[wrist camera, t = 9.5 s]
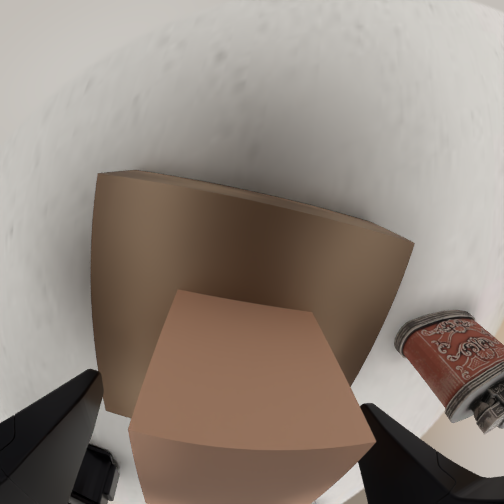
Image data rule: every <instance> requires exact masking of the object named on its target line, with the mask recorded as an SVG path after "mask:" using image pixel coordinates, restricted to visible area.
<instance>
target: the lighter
mask: <svg viewBox="0 0 504 504" xmlns="http://www.w3.org/2000/svg"><path fill="white" fill-rule="evenodd" d="M395 348H396V349H397V351H398V352H399V353H400V354H401V356H402V357H404V358H407V359H408V360H409V361H410V363H411V364H412V365H413V366H414V368H415V369H416V370H417V371H418V373H419V374H420V375H421V377H422V378H423V379H424V380H425V382H426V383H427V384H428V386H429V387H430V388H431V390H432V391H433V392H434V393H435V395H436V396H437V397H438V399H439V400H440V402H441V403H442V404H443V406H444V407H445V408H446V409H445V414H446V415H447V417H448V418H449V420H450V421H451V422H452V423H455V422H458V421H460V420H463V419H466V418H468V417H470V416H472V415H474V417H475V420H476V421H477V425H478V426H479V428H480V429H481V430H482V432H483V433H484V434H487V433H488V432H490V431H491V430H493V429H494V428H495V427H499V428H504V345H503V344H502V343H500V342H499V341H498V340H497V339H496V338H495V337H493V336H492V335H491V334H490V333H489V332H488V331H486V330H485V329H484V328H483V327H481V326H480V325H479V324H478V323H477V322H475V318H474V317H473V316H472V315H470V314H469V313H468V312H466V311H459V310H450V311H441V312H437V313H432V314H428V315H425V316H422V317H420V318H417V319H414V320H411V321H409V322H407V323H406V324H405V325H404V326H403V327H402V328H401V329H400V331H399V332H398V334H397V336H396V338H395Z"/></svg>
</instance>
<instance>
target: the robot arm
mask: <svg viewBox="0 0 504 504" xmlns="http://www.w3.org/2000/svg"><path fill="white" fill-rule="evenodd" d="M103 393H104V387H103V381H102V375H101V373H100V372H99V371H96V370H93V369H87V370H86V371H84V372H83V373H81V374H79V375H78V376H76V377H75V378H73V379H71V380H70V381H68V382H67V383H65V384H63V385H62V386H60V387H59V388H57V389H55V390H54V391H52V392H51V393H49V394H47V395H46V396H44V397H42V398H41V399H39V400H38V401H36V402H34V403H33V404H31V405H29V406H28V407H26V408H25V409H23V410H21V411H20V412H18V413H16V414H15V416H14V415H13V416H11V417H10V418H8V419H6V420H5V421H3V422H1V423H0V504H71V503H72V504H107V503H108V500H109V501H113V500H114V496H115V491H116V487H117V483H118V479H119V472H118V469H117V467H116V465H115V464H114V461H113V458H112V455H111V454H110V453H109V452H107V451H104V450H101V449H98V448H95V447H92V446H90V445H88V444H89V441H90V439H91V436H92V433H93V430H94V427H95V423H96V419H97V415H98V412H99V408H100V404H101V401H102V397H103ZM360 408H361V410H362V412H363V414H364V417H365V419H366V421H367V423H368V425H369V427H370V429H371V431H372V433H373V435H374V438H375V440H376V443H375V444H374V445H373V446H372V447H371V448H370V449H369V450H368V452H367V453H366V454H365V455H364V456H363V457H362V458H361V459H360V460H359V461H358V463H359V467H360V471H361V476H362V480H363V484H364V488H365V492H366V497H367V501H368V504H504V476H501V477H493V478H486V477H481V476H479V475H476V474H475V473H473V472H471V471H468V470H467V469H465V468H463V467H461V466H459V465H458V464H456V463H454V462H453V461H451V460H449V459H448V458H446V457H445V456H443V455H442V454H441V453H439V452H437V451H436V450H435V449H433V448H432V447H430V446H429V445H428V444H426V443H425V442H424V441H422V440H421V439H420V438H418V437H417V436H415V435H414V434H413V433H411V432H410V431H409V430H407V429H406V428H405V427H403V426H402V425H401V424H399V423H398V422H397V421H395V420H394V419H393V418H391V417H390V416H389V415H387V414H386V413H385V412H384V411H382V410H381V409H380V408H378V407H377V406H376V405H374V404H373V403H365V404H362V405H361V406H360ZM69 502H70V503H69Z"/></svg>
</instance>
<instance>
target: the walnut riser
mask: <svg viewBox="0 0 504 504" xmlns="http://www.w3.org/2000/svg"><path fill="white" fill-rule="evenodd" d="M414 244H415V243H413V242H411V241H409V240H408V239H406V238H404V237H401V236H399V235H397V234H395V233H393V232H391V231H389V230H387V229H385V228H383V227H381V226H379V225H377V224H374V223H372V222H370V221H366V220H363V219H359V218H356V217H352V216H349V215H345V214H342V213H338V212H334V211H331V210H327V209H323V208H319V207H316V206H312V205H308V204H304V203H300V202H296V201H292V200H288V199H283V198H279V197H275V196H271V195H266V194H262V193H257V192H253V191H248V190H244V189H239V188H234V187H229V186H225V185H220V184H215V183H209V182H204V181H199V180H193V179H188V178H182V177H177V176H171V175H165V174H159V173H152V172H146V171H139V170H129V171H117V172H107V173H98V176H97V183H96V191H95V200H94V210H93V222H92V239H91V303H92V319H93V331H94V341H95V350H96V358H97V365H98V371H99V372H100V373H101V375H102V381H103V387H104V393H103V399H104V404H105V409H106V411H109V412H112V413H115V414H118V415H122V416H125V417H129V418H132V415H133V412H134V409H135V406H136V403H137V400H138V396H139V393H140V390H141V387H142V384H143V381H144V379H145V376H146V373H147V370H148V367H149V364H150V361H151V358H152V356H153V353H154V350H155V347H156V345H157V342H158V339H159V336H160V334H161V331H162V328H163V326H164V323H165V321H166V318H167V315H168V313H169V310H170V308H171V305H172V303H173V300H174V298H175V295H176V293H177V290H178V289H179V290H184V291H189V292H194V293H199V294H204V295H209V296H215V297H220V298H226V299H231V300H237V301H243V302H249V303H255V304H261V305H267V306H273V307H280V308H286V309H293V310H300V311H307V312H312V313H313V315H314V317H315V319H316V321H317V322H318V324H319V326H320V328H321V330H322V332H323V334H324V336H325V338H326V340H327V342H328V344H329V346H330V348H331V350H332V352H333V354H334V356H335V358H336V360H337V362H338V364H339V366H340V368H341V370H342V372H343V374H344V376H345V378H346V380H347V382H348V384H349V386H350V387H351V385H352V383H353V382H354V380H355V378H356V376H357V375H358V373H359V371H360V369H361V367H362V366H363V364H364V362H365V360H366V358H367V356H368V354H369V352H370V350H371V348H372V346H373V344H374V342H375V340H376V338H377V336H378V334H379V332H380V330H381V328H382V326H383V324H384V321H385V319H386V317H387V315H388V312H389V310H390V308H391V306H392V303H393V301H394V298H395V296H396V294H397V291H398V289H399V286H400V283H401V281H402V278H403V276H404V273H405V270H406V267H407V265H408V262H409V259H410V256H411V253H412V250H413V247H414Z"/></svg>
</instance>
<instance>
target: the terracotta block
mask: <svg viewBox="0 0 504 504" xmlns="http://www.w3.org/2000/svg"><path fill="white" fill-rule="evenodd" d="M128 432H129V437H130V442H131V447H132V452H133V457H134V461H135V465H136V469H137V473H138V477H139V481H140V485H141V488H142V492H143V495H144V499H145V502H146V503H147V504H311V503H312V502H313V501H315V500H316V499H317V498H318V497H320V496H321V495H322V494H323V493H324V492H326V491H327V490H328V489H329V488H330V487H331V486H333V485H334V484H335V483H336V482H337V481H338V480H339V479H340V478H341V477H343V476H344V475H345V474H346V473H347V472H348V471H349V470H350V469H351V468H352V467H353V466H354V465H355V464H356V463H357V462H358V461H359V460H360V459H361V458H362V457H363V456H364V455H365V454H366V453H367V452H368V450H369V449H370V448H371V447H372V446H373V445H374V444H375V443H376V440H375V438H374V435H373V433H372V431H371V429H370V427H369V425H368V423H367V421H366V419H365V417H364V414H363V412H362V410H361V408H360V406H359V404H358V402H357V400H356V398H355V396H354V394H353V392H352V390H351V388H350V386H349V384H348V382H347V380H346V378H345V376H344V374H343V372H342V370H341V368H340V366H339V364H338V362H337V360H336V358H335V356H334V354H333V352H332V350H331V348H330V346H329V344H328V342H327V340H326V338H325V336H324V334H323V332H322V330H321V328H320V326H319V324H318V322H317V321H316V319H315V317H314V315H313V313H312V312H307V311H300V310H293V309H286V308H280V307H273V306H267V305H261V304H255V303H249V302H243V301H237V300H231V299H226V298H220V297H215V296H209V295H204V294H199V293H194V292H189V291H184V290H179V289H178V290H177V293H176V295H175V298H174V300H173V303H172V305H171V308H170V310H169V313H168V315H167V318H166V321H165V323H164V326H163V328H162V331H161V334H160V336H159V339H158V342H157V345H156V347H155V350H154V353H153V356H152V358H151V361H150V364H149V367H148V370H147V373H146V376H145V379H144V381H143V384H142V387H141V390H140V393H139V396H138V400H137V403H136V406H135V409H134V412H133V415H132V418H131V422H130V425H129V428H128Z"/></svg>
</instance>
